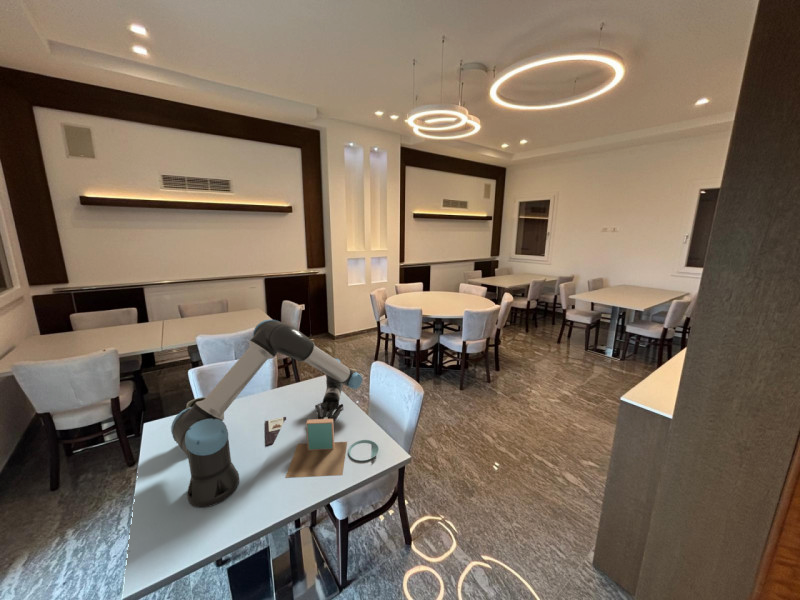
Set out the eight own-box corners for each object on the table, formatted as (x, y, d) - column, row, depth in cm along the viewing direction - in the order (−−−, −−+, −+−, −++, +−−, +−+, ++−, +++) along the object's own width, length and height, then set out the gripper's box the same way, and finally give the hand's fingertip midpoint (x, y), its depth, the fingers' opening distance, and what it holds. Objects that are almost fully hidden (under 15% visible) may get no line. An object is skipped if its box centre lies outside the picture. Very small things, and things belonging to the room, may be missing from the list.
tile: (308, 450, 123) (306, 423, 120) (309, 446, 126) (307, 419, 123) (333, 449, 124) (332, 422, 121) (334, 445, 126) (333, 418, 124)
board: (285, 480, 110) (285, 477, 109) (298, 446, 127) (297, 443, 127) (342, 477, 111) (342, 474, 111) (347, 444, 129) (347, 441, 128)
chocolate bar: (266, 445, 127) (265, 421, 143) (266, 447, 127) (265, 422, 143) (289, 439, 131) (285, 416, 147) (289, 441, 131) (286, 418, 147)
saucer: (356, 470, 115) (356, 464, 115) (343, 451, 125) (343, 446, 124) (384, 457, 121) (383, 452, 121) (370, 441, 131) (370, 436, 131)
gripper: (345, 405, 151) (340, 436, 128) (318, 406, 150) (307, 438, 127) (345, 391, 149) (339, 420, 126) (317, 392, 148) (306, 421, 125)
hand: (323, 429), depth 126 cm, fingers closed
